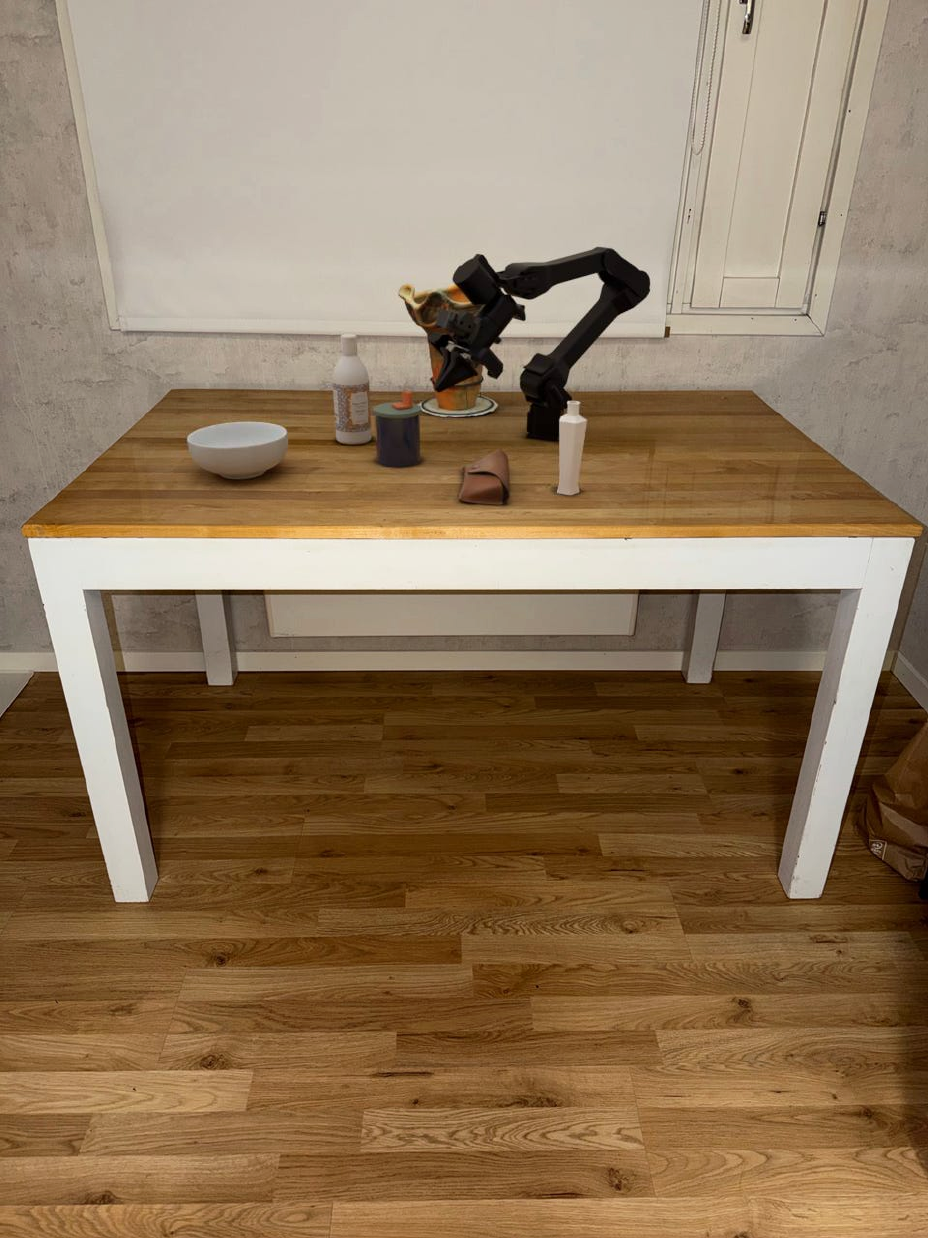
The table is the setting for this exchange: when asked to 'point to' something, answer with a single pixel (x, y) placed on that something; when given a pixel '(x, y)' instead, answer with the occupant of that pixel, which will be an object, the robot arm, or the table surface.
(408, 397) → the slider
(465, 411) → the decorative vase
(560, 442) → the white tall faceted bottle
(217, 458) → the cereal bowl
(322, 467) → the table surface
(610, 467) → the table surface
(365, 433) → the bath foam
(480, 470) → the sunglasses case
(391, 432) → the travel cup
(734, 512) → the table surface
